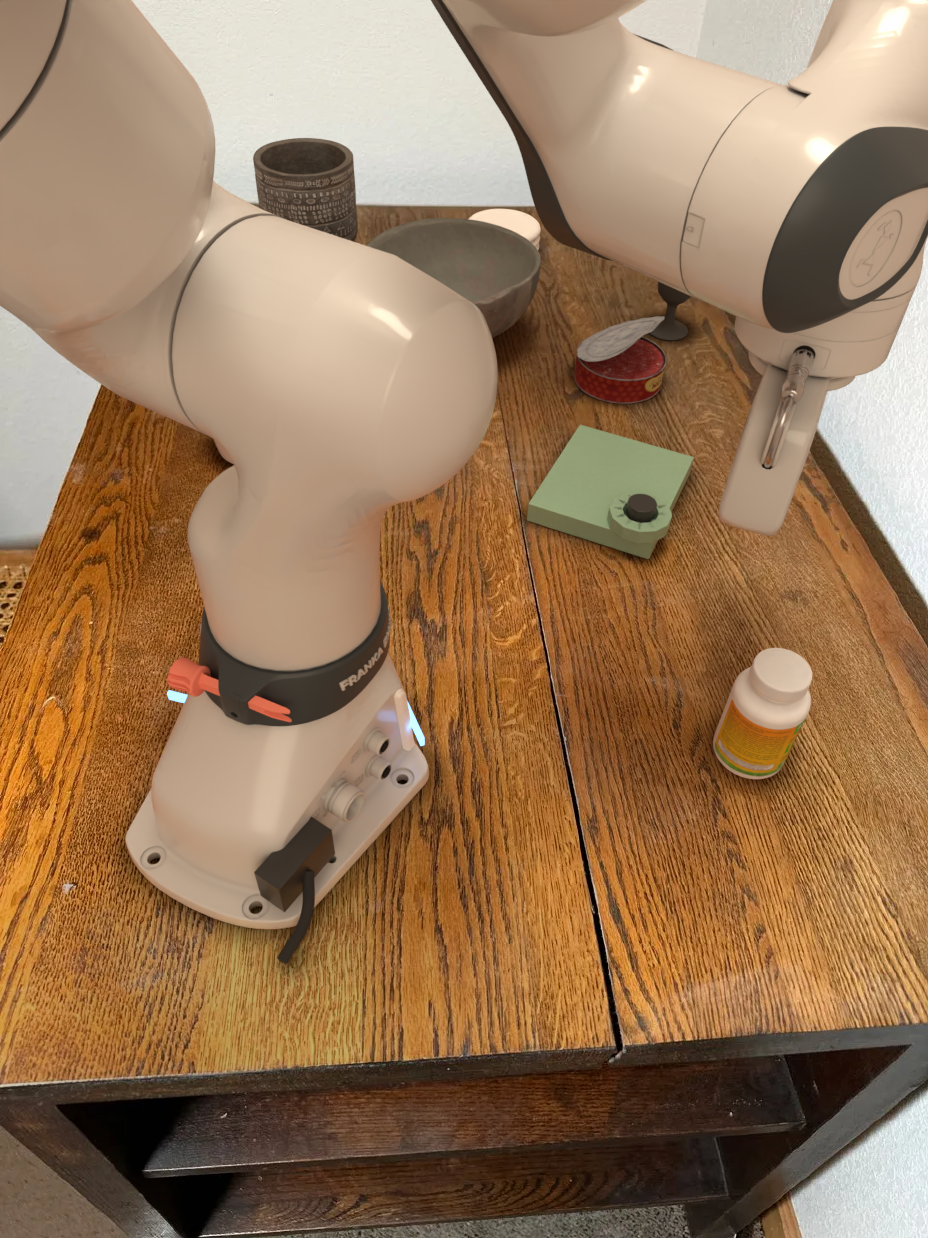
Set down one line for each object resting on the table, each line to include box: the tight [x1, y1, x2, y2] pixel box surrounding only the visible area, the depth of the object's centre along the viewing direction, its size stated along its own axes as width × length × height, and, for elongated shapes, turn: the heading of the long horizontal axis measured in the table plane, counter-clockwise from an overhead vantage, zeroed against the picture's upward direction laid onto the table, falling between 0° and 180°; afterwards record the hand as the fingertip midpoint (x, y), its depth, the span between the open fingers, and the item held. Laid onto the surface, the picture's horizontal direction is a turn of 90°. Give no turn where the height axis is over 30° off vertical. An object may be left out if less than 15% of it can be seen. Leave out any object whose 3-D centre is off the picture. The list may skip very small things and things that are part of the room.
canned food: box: [573, 315, 667, 405], centre depth 102 cm, size 11×10×10 cm
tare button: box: [626, 494, 657, 523], centre depth 83 cm, size 3×3×1 cm
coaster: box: [468, 208, 541, 251], centre depth 124 cm, size 10×10×4 cm
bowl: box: [366, 217, 542, 339], centre depth 107 cm, size 20×20×10 cm
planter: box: [252, 137, 359, 242], centre depth 118 cm, size 12×12×13 cm
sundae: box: [649, 281, 692, 342], centre depth 107 cm, size 7×7×15 cm
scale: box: [526, 424, 695, 560], centre depth 89 cm, size 15×13×4 cm
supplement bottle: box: [712, 647, 813, 780], centre depth 67 cm, size 5×5×10 cm
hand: (755, 500), depth 63 cm, fingers closed
